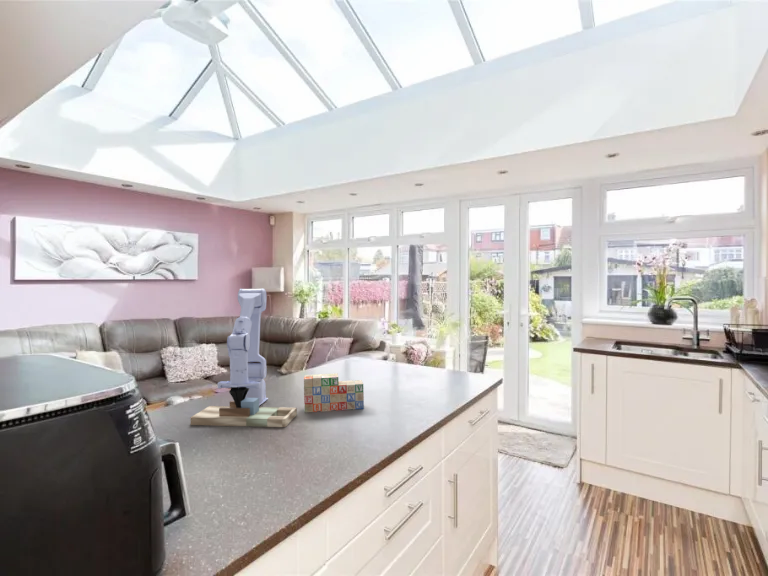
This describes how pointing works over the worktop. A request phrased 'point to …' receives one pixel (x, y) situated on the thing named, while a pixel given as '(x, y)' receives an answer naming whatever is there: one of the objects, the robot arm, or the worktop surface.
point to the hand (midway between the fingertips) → (239, 409)
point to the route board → (244, 416)
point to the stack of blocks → (332, 393)
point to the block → (251, 405)
